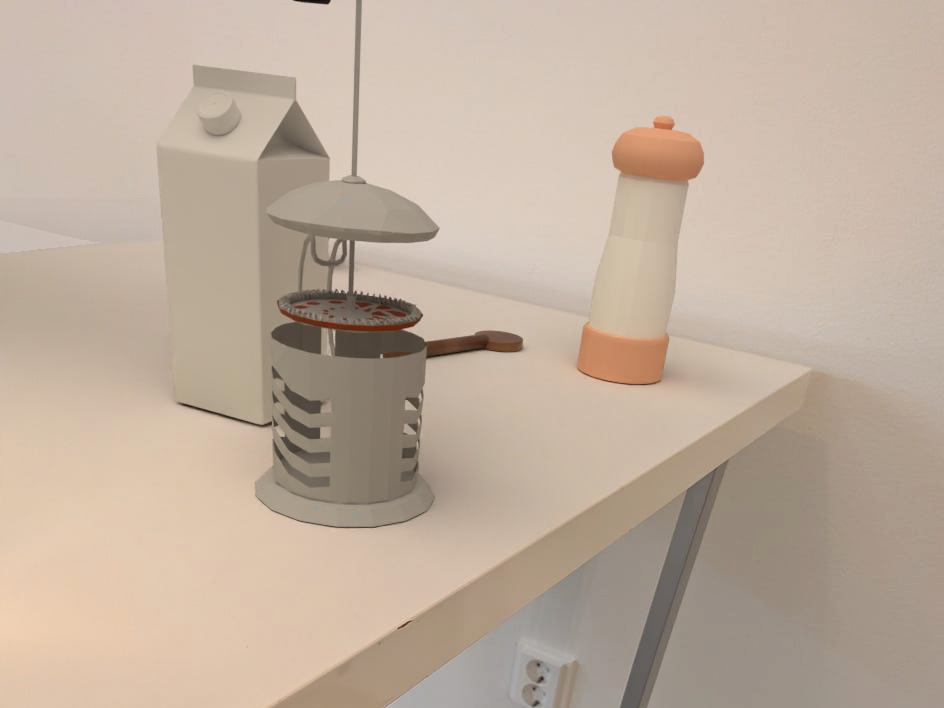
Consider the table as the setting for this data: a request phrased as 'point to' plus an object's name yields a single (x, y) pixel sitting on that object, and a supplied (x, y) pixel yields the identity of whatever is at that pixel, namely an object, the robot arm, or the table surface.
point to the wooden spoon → (469, 344)
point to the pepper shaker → (640, 255)
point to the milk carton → (234, 234)
